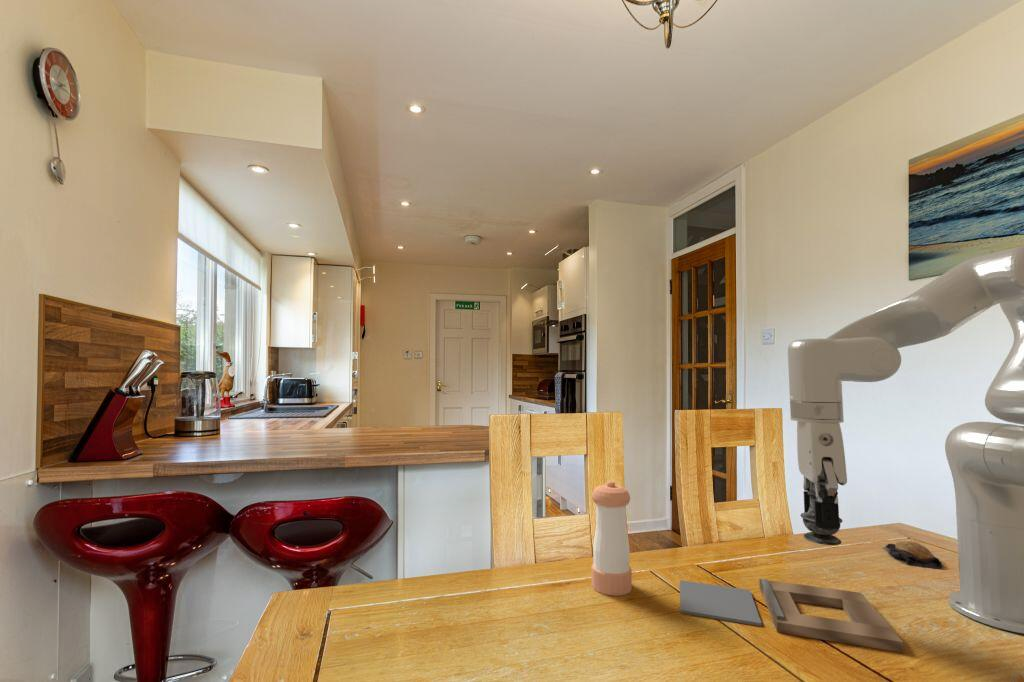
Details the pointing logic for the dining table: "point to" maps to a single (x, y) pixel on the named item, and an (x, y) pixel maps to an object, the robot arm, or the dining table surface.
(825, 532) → the salt shaker
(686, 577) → the dining table surface
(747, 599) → the slate mat
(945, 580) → the dining table surface
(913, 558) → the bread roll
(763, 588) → the brown wooden square frame
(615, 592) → the pepper shaker
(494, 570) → the dining table surface
